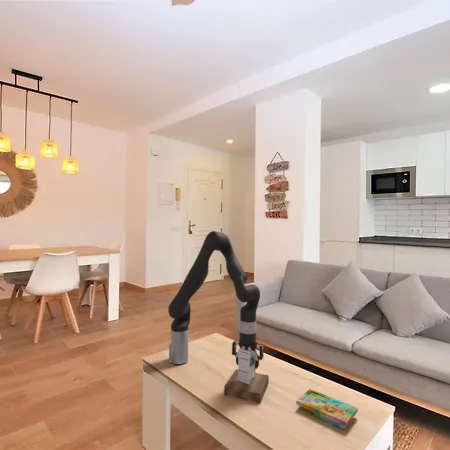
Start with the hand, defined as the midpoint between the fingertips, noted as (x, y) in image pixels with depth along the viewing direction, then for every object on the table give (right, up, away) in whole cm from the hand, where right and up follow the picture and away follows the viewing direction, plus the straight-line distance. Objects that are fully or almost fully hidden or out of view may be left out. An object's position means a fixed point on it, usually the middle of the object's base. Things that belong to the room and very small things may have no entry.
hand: (247, 366), depth 138 cm
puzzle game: (+30, -12, -16) cm, 36 cm away
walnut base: (0, -11, 0) cm, 11 cm away
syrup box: (0, -7, 0) cm, 7 cm away
